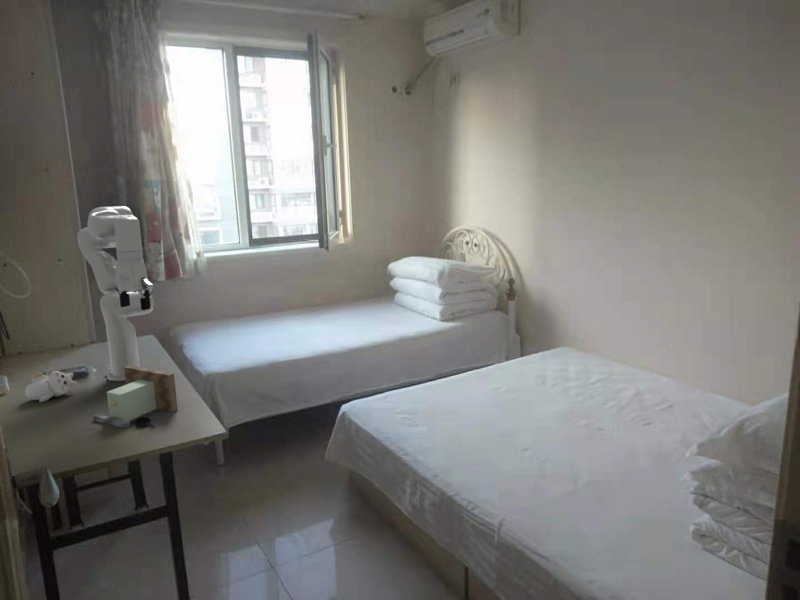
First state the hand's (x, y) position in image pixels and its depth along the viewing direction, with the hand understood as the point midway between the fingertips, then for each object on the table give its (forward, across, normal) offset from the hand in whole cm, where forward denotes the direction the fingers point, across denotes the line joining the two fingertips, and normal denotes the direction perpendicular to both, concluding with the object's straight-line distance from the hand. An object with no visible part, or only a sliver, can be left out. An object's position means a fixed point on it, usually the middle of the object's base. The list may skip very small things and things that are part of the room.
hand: (135, 307), depth 190 cm
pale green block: (+30, +12, -14) cm, 35 cm away
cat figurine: (+31, -26, -15) cm, 43 cm away
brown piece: (+30, +12, -14) cm, 35 cm away
